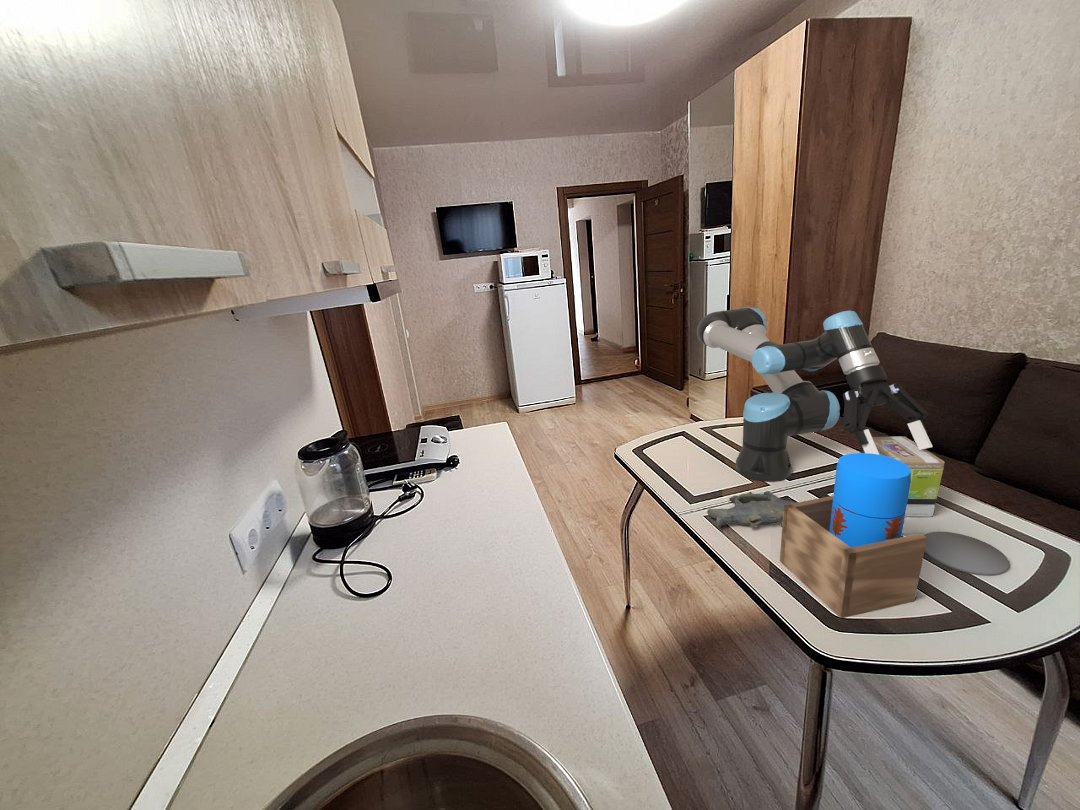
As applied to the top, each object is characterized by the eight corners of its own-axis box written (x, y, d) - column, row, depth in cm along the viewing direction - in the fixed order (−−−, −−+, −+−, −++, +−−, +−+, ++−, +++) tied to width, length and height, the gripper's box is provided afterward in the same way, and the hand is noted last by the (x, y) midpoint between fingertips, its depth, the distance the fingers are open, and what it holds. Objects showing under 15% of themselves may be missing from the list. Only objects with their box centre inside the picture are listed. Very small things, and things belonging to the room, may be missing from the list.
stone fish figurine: (824, 507, 98) (789, 483, 113) (717, 515, 99) (696, 490, 114) (823, 527, 99) (788, 501, 114) (718, 534, 100) (696, 507, 115)
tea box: (935, 517, 98) (947, 461, 93) (885, 517, 100) (895, 462, 95) (896, 484, 112) (905, 434, 107) (854, 485, 114) (861, 435, 109)
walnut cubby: (779, 561, 90) (783, 505, 86) (842, 548, 92) (849, 492, 88) (840, 618, 75) (849, 553, 71) (914, 601, 77) (927, 537, 72)
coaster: (903, 540, 92) (903, 537, 91) (955, 530, 93) (955, 526, 93) (969, 581, 79) (970, 578, 79) (1027, 568, 81) (1028, 564, 80)
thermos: (812, 562, 89) (823, 456, 81) (860, 555, 89) (875, 449, 82) (853, 600, 78) (870, 483, 71) (907, 591, 79) (929, 474, 71)
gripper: (827, 371, 98) (864, 458, 91) (921, 356, 101) (963, 440, 94) (806, 382, 105) (839, 464, 99) (894, 368, 108) (932, 448, 101)
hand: (900, 453), depth 96 cm, fingers open, 13 cm apart
